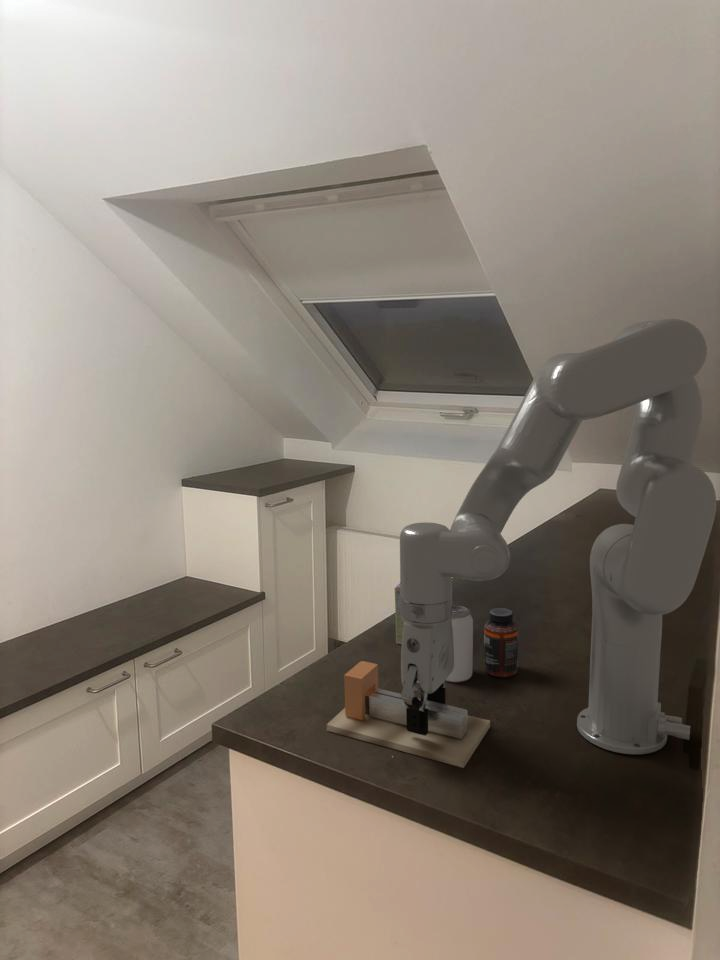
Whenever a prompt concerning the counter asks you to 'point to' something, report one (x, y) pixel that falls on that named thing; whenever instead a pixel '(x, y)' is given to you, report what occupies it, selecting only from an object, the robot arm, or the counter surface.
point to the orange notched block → (359, 688)
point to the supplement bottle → (501, 644)
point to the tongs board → (412, 737)
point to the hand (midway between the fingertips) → (426, 720)
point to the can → (462, 644)
